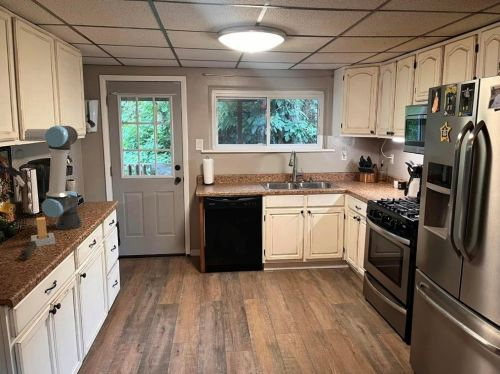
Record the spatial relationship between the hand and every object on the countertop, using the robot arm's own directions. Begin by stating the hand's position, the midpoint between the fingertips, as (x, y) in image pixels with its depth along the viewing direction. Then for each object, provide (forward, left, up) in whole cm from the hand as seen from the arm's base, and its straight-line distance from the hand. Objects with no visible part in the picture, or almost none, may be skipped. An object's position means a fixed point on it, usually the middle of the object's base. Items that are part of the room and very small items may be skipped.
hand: (12, 186), depth 216 cm
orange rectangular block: (-12, +21, -30) cm, 38 cm away
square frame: (-12, +21, -30) cm, 38 cm away
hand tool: (-5, +38, -30) cm, 49 cm away
